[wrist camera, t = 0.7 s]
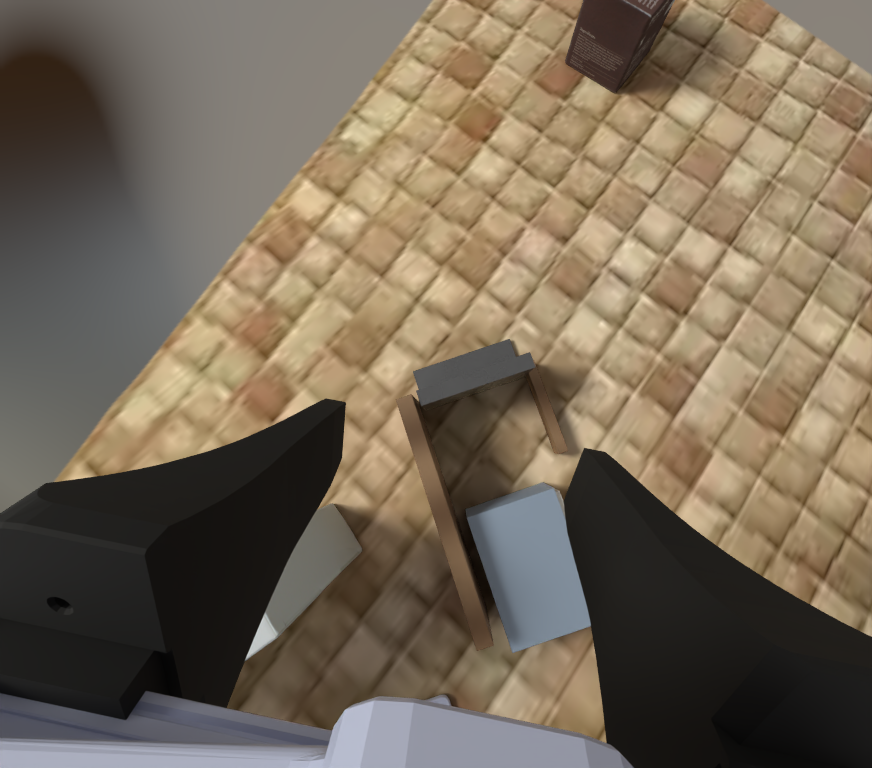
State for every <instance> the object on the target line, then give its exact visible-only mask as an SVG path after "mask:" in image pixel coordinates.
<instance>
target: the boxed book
mask: <svg viewBox="0 0 872 768" xmlns="http://www.w3.org/2000/svg"><path fill="white" fill-rule="evenodd" d="M465 510H466V516H467V520H468V523H469V526H470V529H471V532H472V535H473V538H474V541H475V544H476V547H477V550H478V553H479V556H480V559H481V561H482V564H483V567H484V570H485V573H486V576H487V579H488V582H489V585H490V588H491V591H492V594H493V597H494V600H495V603H496V606H497V609H498V612H499V615H500V617H501V620H502V623H503V626H504V629H505V632H506V635H507V638H508V641H509V644H510V647H511V650H512V653H514V652H517V651H520V650H523V649H526V648H528V647H531V646H534V645H537V644H540V643H543V642H546V641H549V640H552V639H555V638H558V637H560V636H563V635H566V634H569V633H572V632H575V631H578V630H581V629H584V628H587V627H590V626H591V623H590V618H589V614H588V609H587V605H586V601H585V597H584V594H583V590H582V586H581V582H580V579H579V575H578V571H577V568H576V564H575V560H574V557H573V553H572V549H571V545H570V541H569V537H568V533H567V527H566V519H565V510H564V502H563V499H562V496H561V494H560V491H559V490H557V489H555V488H553V487H551V486H550V485H547V484H545V483H544V482H542V483H539V484H537V485H534V486H531V487H528V488H525V489H522V490H519V491H516V492H513V493H510V494H508V495H505V496H502V497H499V498H496V499H493V500H490V501H487V502H484V503H481V504H479V505H476V506H473V507H470V508H467V509H465Z"/></svg>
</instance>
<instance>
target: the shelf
mask: <svg viewBox="0 0 872 768" xmlns="http://www.w3.org/2000/svg"><path fill="white" fill-rule="evenodd" d="M533 362H534V364H535V361H534V360H533ZM526 378H527V381H528V383H529V386H530V389H531V391H532V394H533V397H534V400H535V402H536V405H537V408H538V410H539V413H540V416H541V418H542V421H543V424H544V426H545V429H546V432H547V435H548V437H549V440H550V443H551V445H552V448H553V451H554V453H557V454H560V453H563V452H566V451H568V449H567V446H566V444H565V441H564V438H563V436H562V433H561V430H560V428H559V425H558V422H557V420H556V417H555V414H554V412H553V409H552V406H551V404H550V401H549V398H548V396H547V393H546V390H545V388H544V385H543V382H542V380H541V377H540V375H539V372H538V369H537V367H536V364H535V368H534V369H533V370H532V371H530V372H529V373H528V374H527V375H526ZM396 402H397V405H398V408H399V411H400V414H401V417H402V420H403V424H404V427H405V430H406V433H407V436H408V439H409V442H410V445H411V448H412V451H413V455H414V458H415V461H416V464H417V467H418V470H419V473H420V476H421V479H422V482H423V486H424V489H425V492H426V495H427V498H428V501H429V504H430V507H431V510H432V513H433V517H434V520H435V523H436V526H437V529H438V532H439V535H440V538H441V541H442V544H443V548H444V551H445V554H446V557H447V560H448V563H449V566H450V569H451V572H452V575H453V579H454V582H455V585H456V588H457V591H458V594H459V597H460V600H461V603H462V606H463V610H464V613H465V616H466V619H467V622H468V625H469V628H470V631H471V634H472V637H473V641H474V644H475V647H476V650H477V651H479V650H482V649H485V648H487V647H490V646H493V645H494V644H493V639H492V634H491V629H490V624H489V619H488V614H487V608H486V605H485V602H484V599H483V596H482V593H481V590H480V587H479V584H478V581H477V578H476V575H475V572H474V569H473V566H472V563H471V560H470V557H469V554H468V551H467V548H466V545H465V541H464V538H463V535H462V532H461V529H460V526H459V523H458V520H457V517H456V514H455V511H454V508H453V505H452V502H451V499H450V496H449V493H448V490H447V487H446V484H445V481H444V478H443V475H442V472H441V469H440V466H439V463H438V460H437V457H436V454H435V451H434V448H433V445H432V442H431V439H430V436H429V432H428V429H427V426H426V423H425V420H424V417H423V414H422V411H421V408H420V405H419V402H418V401H417V400H416V399H415V398H414V397H413V396H412V395H408V396H405V397H402V398H399V399H396Z"/></svg>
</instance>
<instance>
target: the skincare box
mask: <svg viewBox="0 0 872 768" xmlns="http://www.w3.org/2000/svg"><path fill="white" fill-rule="evenodd" d="M361 552H362V548H361V546H360V544H359V543H358V541H357V539H356V538H355V536H354V534H353V533H352V531H351V529H350V528H349V526H348V524H347V523H346V521H345V520H344V518H343V517H342V515H341V514H340V512H339V511H338V510H337V508H336V507H335V505H334V504H329V505H327V506H325V507H322V508H320V509H318V510H316V512H315V514H314V515H313V517H312V519H311V521H310V522H309V524H308V526H307V527H306V529H305V531H304V533H303V534H302V536H301V538H300V539H299V541H298V543H297V545H296V546H295V548H294V550H293V552H292V554H291V556H290V558H289V560H288V562H287V564H286V566H285V568H284V571H283V573H282V575H281V577H280V579H279V582H278V584H277V586H276V588H275V591H274V593H273V595H272V597H271V600H270V602H269V604H268V607H267V609H266V611H265V614H264V616H263V618H262V621H261V623H260V625H259V628H258V630H257V632H256V635H255V637H254V640H253V642H252V645H251V647H250V650H249V652H248V654H247V657H246V659H245V661H246V660H247V659H249V658H250V657H251V656H253V655H254V654H256V653H257V652H258V651H260V650H261V649H263V648H264V647H265V646H267V645H268V644H269V643H271V642H272V641H274V640H275V639H277V638H278V637H279V636H280V635H281V634H282V633H283V632H284V631H285V629H286V628H287V627H288V626H289V625H290V624H291V623H292V622H293V621H294V620H295V619H296V618H297V617H298V616H299V615H300V614H301V613H302V612H303V611H304V610H305V609H306V608H307V607H308V606H309V605H310V604H311V603H312V602H313V601H314V600H315V599H316V598H317V597H318V596H319V595H320V593H321V592H322V591H323V590H324V589H325V588H326V587H327V586H328V585H329V584H330V583H331V582H332V581H333V580H334V579H335V578H336V577H337V576H338V575H339V574H340V573H341V572H342V571H343V570H344V569H345V568H346V567H347V566H348V565H349V564H350V563H351V562H352V561H353V560H354V559H355V558H356V557H357V556H358V555H359V554H360V553H361Z"/></svg>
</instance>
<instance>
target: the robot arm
mask: <svg viewBox="0 0 872 768" xmlns="http://www.w3.org/2000/svg"><path fill="white" fill-rule="evenodd" d="M345 406H346V402H342V401H336V400H331V399H324V400H322V401H320V402H318V403H316V404H314V405H312V406H310V407H308V408H306V409H304V410H302V411H300V412H299V413H297V414H295V415H293V416H291V417H289V418H287V419H285V420H283V421H281V422H279V423H277V424H275V425H273V426H271V427H268V428H266V429H264V430H262V431H260V432H257V433H255V434H253V435H251V436H249V437H246V438H244V439H241V440H239V441H236V442H233V443H231V444H228V445H225V446H222V447H219V448H217V449H214V450H211V451H208V452H205V453H201V454H197V455H194V456H190V457H187V458H183V459H179V460H176V461H172V462H169V463H164V464H160V465H156V466H151V467H147V468H142V469H137V470H132V471H127V472H122V473H116V474H110V475H104V476H97V477H90V478H83V479H75V480H68V481H61V482H53V483H46V484H44V485H42V486H41V487H40V488H38V489H37V490H35V491H33V492H32V493H30V494H29V495H27V496H26V497H24V498H23V499H21V500H20V501H19V502H17V503H15V504H14V505H12V506H11V507H9V508H8V509H6V510H5V511H3V512H2V513H0V768H872V637H870V636H868V635H866V634H864V633H862V632H860V631H858V630H856V629H854V628H852V627H850V626H848V625H846V624H844V623H842V622H841V621H839V620H837V619H835V618H833V617H831V616H829V615H828V614H826V613H824V612H822V611H820V610H819V609H817V608H815V607H813V606H811V605H810V604H808V603H806V602H804V601H802V600H801V599H799V598H797V597H795V596H794V595H792V594H790V593H789V592H787V591H785V590H783V589H782V588H780V587H778V586H777V585H775V584H773V583H772V582H770V581H769V580H767V579H765V578H764V577H762V576H761V575H759V574H758V573H756V572H754V571H753V570H751V569H750V568H748V567H747V566H745V565H743V564H742V563H740V562H739V561H737V560H736V559H735V558H733V557H732V556H730V555H729V554H727V553H726V552H724V551H723V550H722V549H720V548H719V547H718V546H716V545H715V544H713V543H712V542H711V541H709V540H708V539H706V538H705V537H704V536H702V535H701V534H700V533H698V532H697V531H696V530H695V529H693V528H692V527H691V526H689V525H688V524H687V523H686V522H685V521H683V520H682V519H681V518H680V517H679V516H677V515H676V514H675V513H674V512H672V511H671V510H670V509H669V508H668V507H667V506H665V505H664V504H663V503H662V502H661V501H660V500H659V499H657V498H656V497H655V496H654V495H653V494H652V493H651V492H650V491H648V490H647V489H646V488H645V487H644V486H643V485H642V484H641V483H640V482H639V481H638V480H636V479H635V478H634V477H633V476H632V475H631V474H630V473H629V472H628V471H627V470H626V469H624V468H623V467H622V466H621V465H620V464H619V463H618V462H617V461H615V460H614V459H613V458H612V457H611V456H609V455H608V454H607V453H606V452H602V451H597V450H592V449H587V448H584V450H583V452H582V455H581V458H580V460H579V463H578V465H577V468H576V471H575V473H574V476H573V478H572V481H571V483H570V486H569V489H568V491H567V494H566V496H565V499H564V510H565V519H566V527H567V533H568V537H569V541H570V545H571V549H572V553H573V557H574V560H575V564H576V568H577V571H578V575H579V579H580V582H581V586H582V590H583V594H584V597H585V601H586V605H587V609H588V614H589V618H590V623H591V629H592V635H593V641H594V647H595V653H596V660H597V667H598V674H599V682H600V689H601V696H602V704H603V713H604V722H605V732H606V741H607V743H604V742H602V741H599V740H597V739H594V738H591V737H589V736H586V735H583V734H581V733H577V732H572V731H567V730H563V729H558V728H553V727H548V726H544V725H539V724H534V723H529V722H525V721H520V720H515V719H510V718H506V717H501V716H496V715H491V714H487V713H482V712H477V711H472V710H468V709H463V708H458V707H453V706H451V703H450V700H449V698H448V696H446V695H444V694H443V695H439V696H436V697H433V698H430V699H427V700H420V699H415V698H402V697H385V696H378V697H375V698H372V699H369V700H366V701H363V702H360V703H356V704H353V705H352V706H350V707H349V708H347V709H345V711H344V712H343V714H342V715H341V717H340V718H339V720H338V721H337V723H336V724H335V726H334V727H333V731H331V730H327V729H322V728H317V727H313V726H308V725H303V724H299V723H294V722H289V721H285V720H280V719H275V718H271V717H266V716H261V715H256V714H252V713H247V712H242V711H238V710H233V709H228V708H227V705H228V702H229V700H230V697H231V695H232V692H233V689H234V687H235V684H236V682H237V679H238V677H239V674H240V672H241V669H242V667H243V664H244V662H245V659H246V657H247V654H248V652H249V650H250V647H251V645H252V642H253V640H254V637H255V635H256V632H257V630H258V628H259V625H260V623H261V621H262V618H263V616H264V614H265V611H266V609H267V607H268V604H269V602H270V600H271V597H272V595H273V593H274V591H275V588H276V586H277V584H278V582H279V579H280V577H281V575H282V573H283V571H284V568H285V566H286V564H287V562H288V560H289V558H290V556H291V554H292V552H293V550H294V548H295V546H296V545H297V543H298V541H299V539H300V538H301V536H302V534H303V533H304V531H305V529H306V527H307V526H308V524H309V522H310V521H311V519H312V517H313V515H314V514H315V512H316V510H317V509H318V507H319V505H320V503H321V502H322V500H323V498H324V496H325V495H326V493H327V491H328V489H329V488H330V486H331V483H332V481H333V479H334V476H335V474H336V472H337V469H338V467H339V464H340V462H341V459H342V450H343V436H344V421H345Z"/></svg>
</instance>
